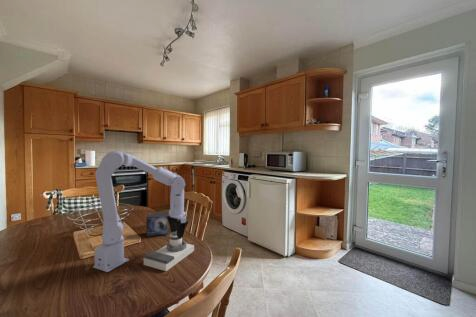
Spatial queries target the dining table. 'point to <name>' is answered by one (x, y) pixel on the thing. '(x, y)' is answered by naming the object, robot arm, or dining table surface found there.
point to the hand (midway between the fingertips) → (176, 234)
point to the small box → (157, 224)
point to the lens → (175, 240)
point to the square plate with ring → (168, 256)
